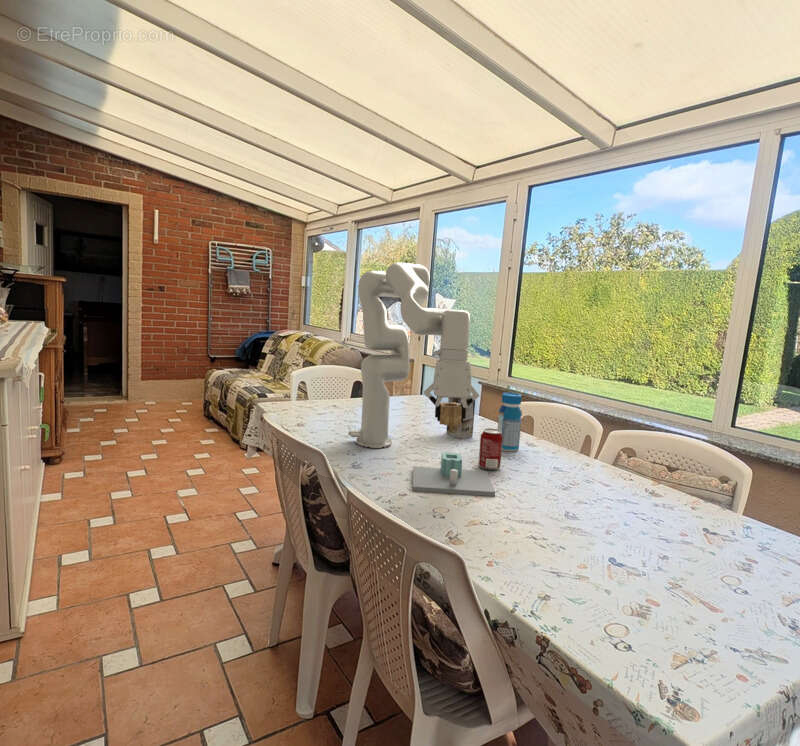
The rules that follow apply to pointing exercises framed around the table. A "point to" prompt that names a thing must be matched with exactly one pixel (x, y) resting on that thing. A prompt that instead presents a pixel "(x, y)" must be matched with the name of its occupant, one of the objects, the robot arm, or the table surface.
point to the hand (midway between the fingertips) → (449, 420)
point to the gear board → (443, 486)
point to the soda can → (490, 449)
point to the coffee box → (467, 425)
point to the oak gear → (450, 413)
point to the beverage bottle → (510, 421)
